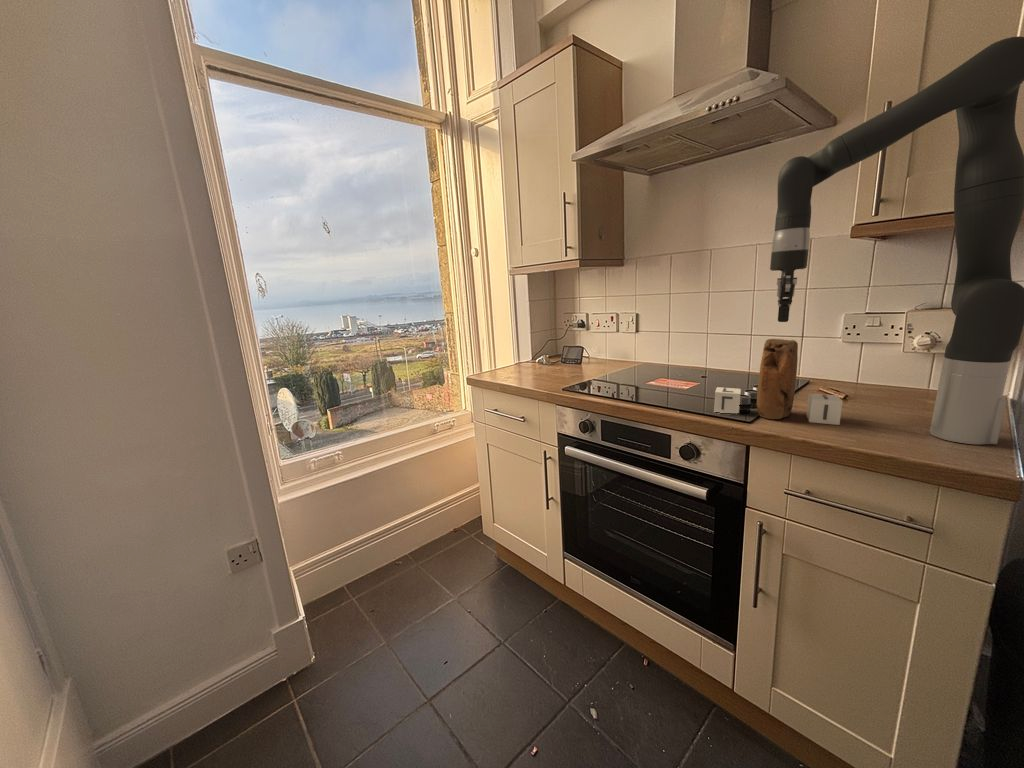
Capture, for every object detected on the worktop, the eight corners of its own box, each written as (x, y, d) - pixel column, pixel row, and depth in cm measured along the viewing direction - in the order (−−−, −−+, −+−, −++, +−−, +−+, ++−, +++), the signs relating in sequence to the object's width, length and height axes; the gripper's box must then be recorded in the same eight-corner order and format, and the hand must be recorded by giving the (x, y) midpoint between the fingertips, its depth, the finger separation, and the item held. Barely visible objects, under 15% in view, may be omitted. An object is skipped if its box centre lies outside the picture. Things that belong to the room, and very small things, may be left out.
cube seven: (739, 409, 116) (740, 388, 114) (738, 415, 110) (740, 393, 109) (715, 407, 118) (716, 386, 117) (713, 413, 113) (715, 391, 112)
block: (762, 408, 115) (769, 337, 111) (794, 412, 110) (802, 338, 106) (751, 417, 108) (758, 341, 103) (785, 423, 103) (794, 343, 98)
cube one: (835, 418, 105) (838, 394, 104) (839, 425, 100) (842, 400, 98) (806, 415, 108) (809, 392, 107) (809, 422, 103) (812, 398, 101)
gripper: (812, 246, 92) (803, 324, 96) (805, 249, 103) (798, 319, 107) (772, 249, 96) (765, 324, 100) (770, 252, 107) (764, 319, 111)
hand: (782, 321), depth 104 cm, fingers closed
